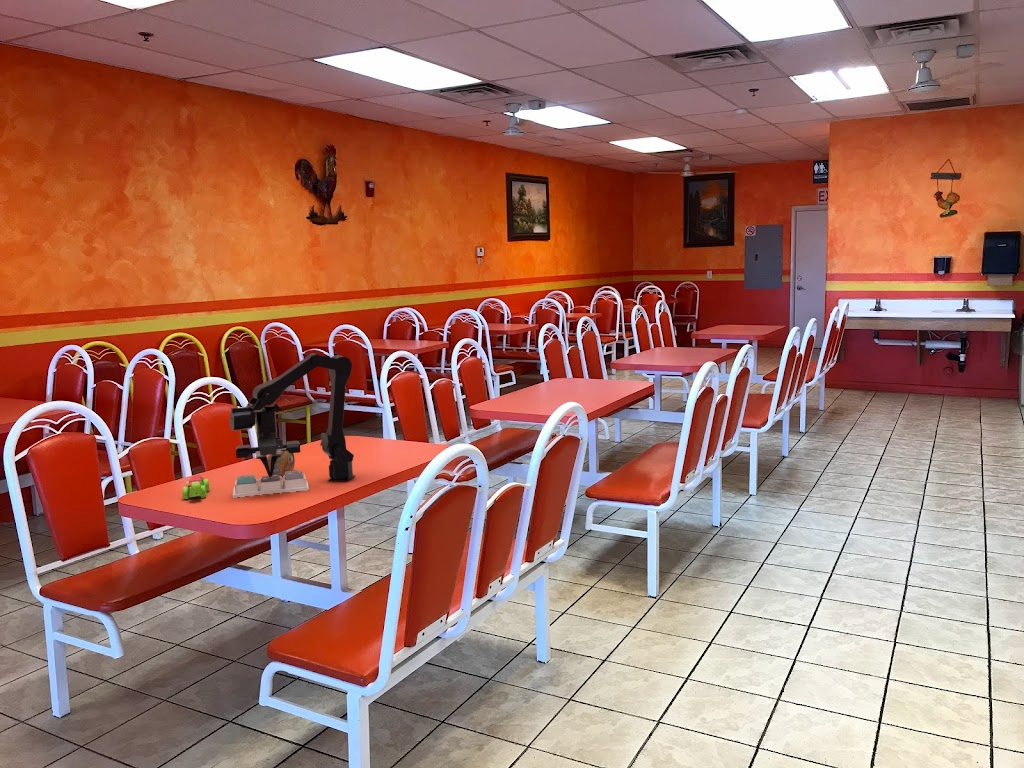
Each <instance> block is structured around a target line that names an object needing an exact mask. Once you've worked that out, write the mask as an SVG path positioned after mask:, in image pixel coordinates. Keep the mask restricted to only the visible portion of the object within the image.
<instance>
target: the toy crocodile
mask: <svg viewBox="0 0 1024 768" xmlns="http://www.w3.org/2000/svg"><path fill="white" fill-rule="evenodd" d="M204 478H205V477H204V475H202V474H201V475H200V474H199V475H192V476H191V477H190V479H189V481H186V482H185V486H183V487H182V498H183V500H184V499H188V500H190V498H194V497H195V498H196V497H200V498H201V499H205V497H206V496H207V495H208V493H207V492H209V491H210V481H209V479H208V478H205V479H204ZM207 497H208V496H207ZM207 497H206V498H207Z"/></svg>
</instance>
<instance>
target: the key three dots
mask: <svg viewBox="0 0 1024 768" xmlns="http://www.w3.org/2000/svg"><path fill="white" fill-rule="evenodd" d="M261 478H262V482H273V481H279V475H272V477H269V476H268V475H261Z"/></svg>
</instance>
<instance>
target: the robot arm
mask: <svg viewBox="0 0 1024 768" xmlns="http://www.w3.org/2000/svg"><path fill="white" fill-rule="evenodd" d="M316 368H323V369H327V370H328V371H327V372H328V376H329V379H330V384H331V385H330V398H329V409H328V410H329V411H328V412H329V413H328V414H329V415H328V425H327V427H328V428H327V429H326V431H325V433H324V432H321V434H320V438H321V441H320V445H319V446H320V447H321V449H322V451H323V453H325V454H326V455H327V457H328V459H329V460H330V461H329V465H328V475H329V479H328V481H329V482H349V481H351V480H352V479H354V478H356V475H354V474H353V473H354V472H353V461H354V454H353V453H352V452H351V451H350V450H348V449H347V442H346V437H345V433H344V427H343V426H344V416H345V415H344V414H345V401H346V389H347V388H346V386H347V383H348V381H349V379H350V377H351V373H352V369H353V362H352V360H351V358H349V357H347V356H343V355H336V354H335V355H332V356H325V355H320V354H319V353H314V352H313V353H311V352H310V353H309V354H307V356H306V357H304V358H303V359H302V360H300V361H299V362H297V363H296V364H294V365H293V366H291V367H290V368H289V369H287V370H285V372H283V373H281V374H280V375H279V376H277V377H276V378H273V379H269V380H267V381H265V382H263V383H261V384H259V385H257V386H255V388H253V390H252V396H251V398H250V400H249V402H248V403H247V404H246V406H243V407H230V413H229V420H228V422H229V427H230V429H231V431H232V432H235V431H240V430H241V431H243V430H250V429H253V427H254V426H255V425H256V432H257V446H255V447H254V446H253V447H251V446H250V444H244V445H237V446H236V447H235V458H236V459H243V458H248V457H249V456H250V455H253V454H255V455H256V456H255V457H256V460H260V461H261V463H262V465H263V466H264V468H265V471H266V474H267V476H269V477H272V474H273V470H274V466H275V463H276V460H277V458H278V457H281V451H288V452H289V453H293V454H299V453H301V444H300V441H299V440H291V441H290V440H289V441H285V442H286V444H283V443H284V442H283V437H281V436H280V437H279V436H278V430H277V429H278V427H277V415H276V414H277V413H276V412H279V411H281V412H282V411H283V408H282V407H281V406H280V405H278V404H277V403H276V401H277V400H278V399H279V398H280V397H281V395H282V394H283V393H284V392H285V391H286V390H287V389H288V388H289V387H290V386H291V385H293V384H295V383H296V382H297V381H299V380H300V379H302V378H304V377H305V376H306V375H307V374H308V373H310V372H312V371H313V370H314V369H316ZM269 455H271V464H270V469H269V464H268V456H269Z"/></svg>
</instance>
